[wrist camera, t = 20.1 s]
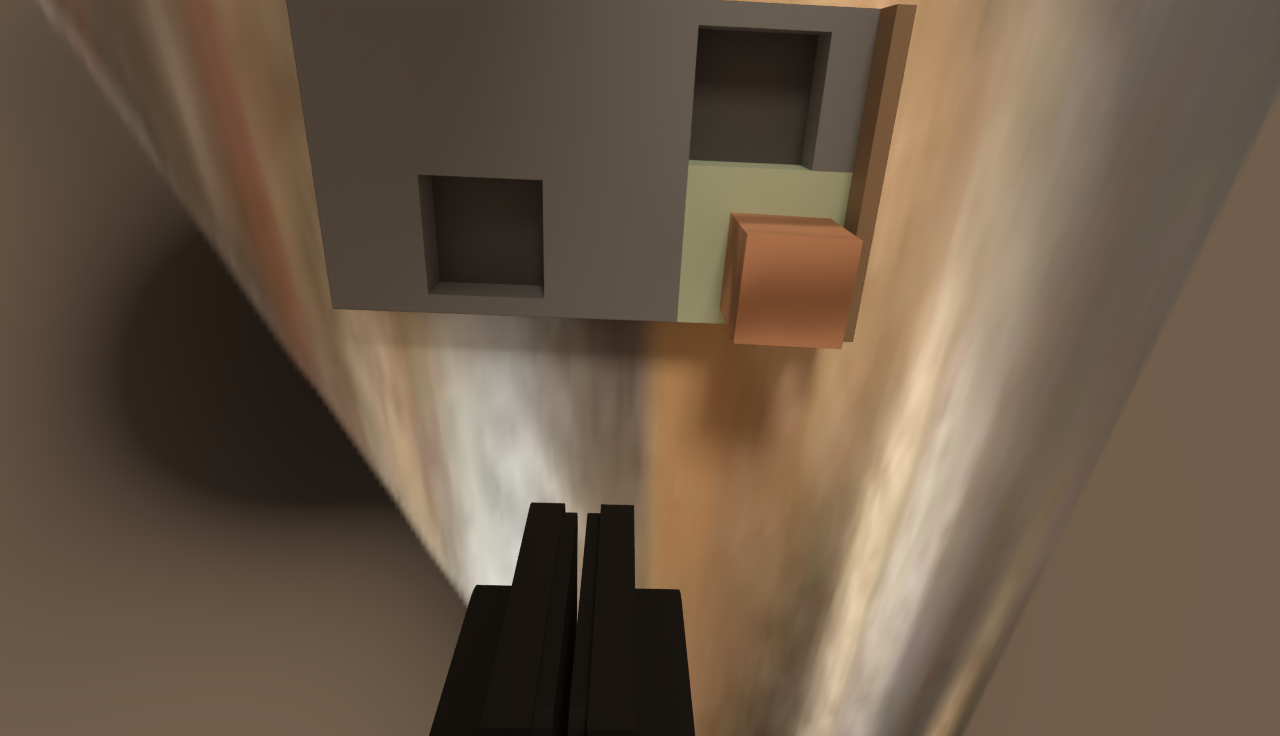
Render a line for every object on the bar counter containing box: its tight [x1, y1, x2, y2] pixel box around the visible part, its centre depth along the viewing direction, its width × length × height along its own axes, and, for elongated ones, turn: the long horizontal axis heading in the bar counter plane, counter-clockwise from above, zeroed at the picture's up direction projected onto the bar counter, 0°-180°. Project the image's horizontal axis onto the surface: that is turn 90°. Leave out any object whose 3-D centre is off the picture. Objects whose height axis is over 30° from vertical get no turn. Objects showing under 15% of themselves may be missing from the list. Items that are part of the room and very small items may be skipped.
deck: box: [286, 0, 917, 342], centre depth 32 cm, size 15×27×4 cm, turn 87°
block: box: [720, 212, 863, 349], centre depth 31 cm, size 5×5×5 cm
